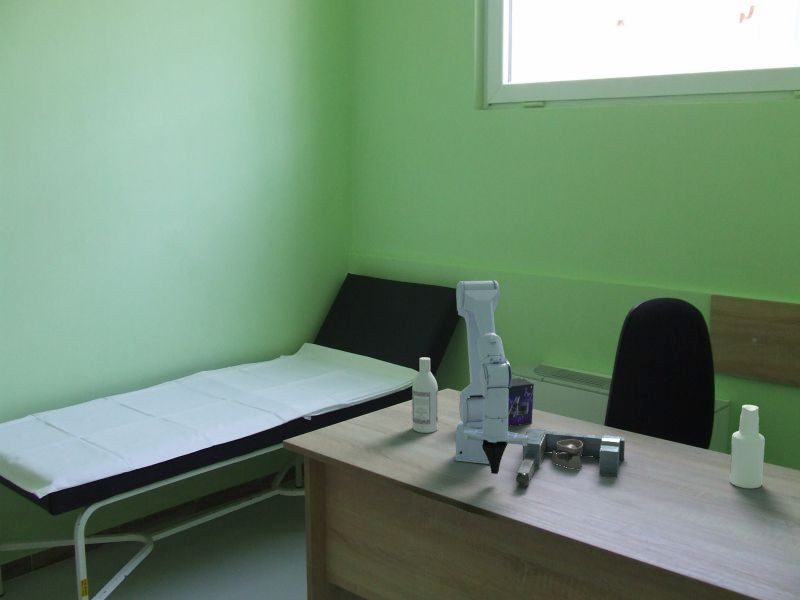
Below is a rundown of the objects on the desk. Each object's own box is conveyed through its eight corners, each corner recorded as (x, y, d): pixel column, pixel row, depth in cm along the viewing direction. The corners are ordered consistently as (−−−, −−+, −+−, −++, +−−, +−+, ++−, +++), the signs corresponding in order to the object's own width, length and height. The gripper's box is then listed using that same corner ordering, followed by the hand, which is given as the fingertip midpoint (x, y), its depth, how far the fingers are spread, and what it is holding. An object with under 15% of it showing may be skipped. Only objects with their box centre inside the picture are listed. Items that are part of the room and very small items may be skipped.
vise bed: (518, 466, 199) (518, 439, 198) (527, 448, 211) (527, 422, 210) (621, 476, 192) (622, 449, 190) (624, 457, 204) (625, 431, 203)
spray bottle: (760, 479, 189) (765, 403, 186) (762, 490, 183) (768, 412, 180) (728, 475, 192) (733, 401, 188) (729, 487, 185) (734, 410, 182)
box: (478, 431, 224) (479, 389, 222) (468, 424, 230) (468, 383, 228) (533, 423, 230) (534, 382, 228) (521, 416, 236) (522, 376, 234)
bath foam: (427, 423, 231) (426, 354, 228) (443, 429, 226) (442, 358, 222) (407, 428, 227) (406, 358, 223) (423, 435, 222) (422, 362, 218)
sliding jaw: (512, 488, 185) (512, 463, 184) (529, 451, 208) (529, 428, 207) (530, 490, 184) (531, 465, 183) (545, 452, 207) (546, 429, 206)
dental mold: (592, 465, 199) (593, 445, 198) (572, 471, 195) (573, 451, 194) (568, 455, 206) (568, 436, 205) (548, 461, 202) (548, 442, 201)
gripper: (460, 417, 185) (460, 475, 187) (524, 423, 180) (523, 482, 183) (467, 408, 191) (467, 464, 194) (529, 413, 187) (528, 470, 189)
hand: (495, 472), depth 189 cm, fingers closed
